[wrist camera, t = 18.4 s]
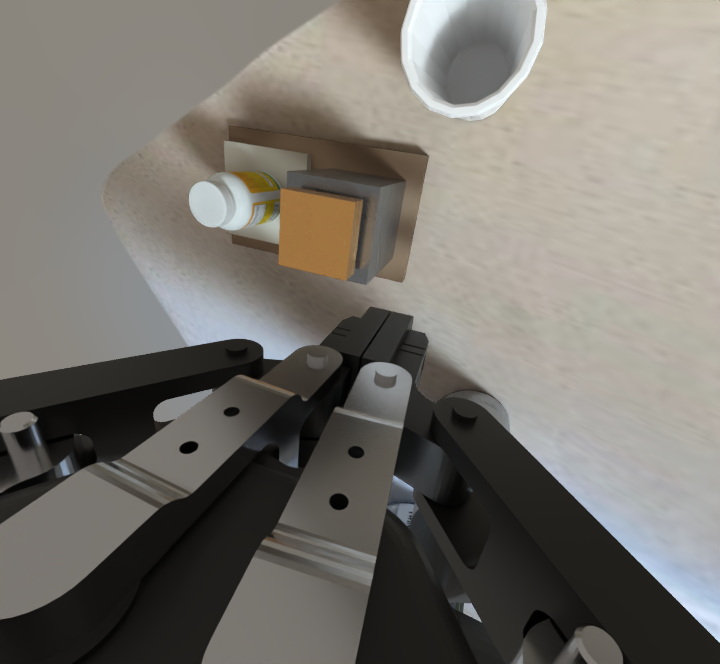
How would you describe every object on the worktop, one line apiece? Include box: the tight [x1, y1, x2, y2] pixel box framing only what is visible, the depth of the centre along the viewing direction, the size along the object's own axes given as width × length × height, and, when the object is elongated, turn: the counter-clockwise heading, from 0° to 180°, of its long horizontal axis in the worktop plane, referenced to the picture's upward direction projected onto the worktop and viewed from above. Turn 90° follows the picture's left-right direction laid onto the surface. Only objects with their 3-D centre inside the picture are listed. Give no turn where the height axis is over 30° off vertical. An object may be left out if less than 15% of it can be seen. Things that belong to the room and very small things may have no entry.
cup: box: [400, 0, 547, 121], centre depth 27 cm, size 8×8×14 cm
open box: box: [286, 168, 406, 285], centre depth 35 cm, size 8×8×10 cm
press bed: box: [224, 126, 429, 282], centre depth 41 cm, size 13×22×2 cm, turn 82°
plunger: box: [278, 187, 363, 281], centre depth 34 cm, size 6×6×12 cm
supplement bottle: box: [189, 171, 282, 230], centre depth 37 cm, size 5×5×10 cm
